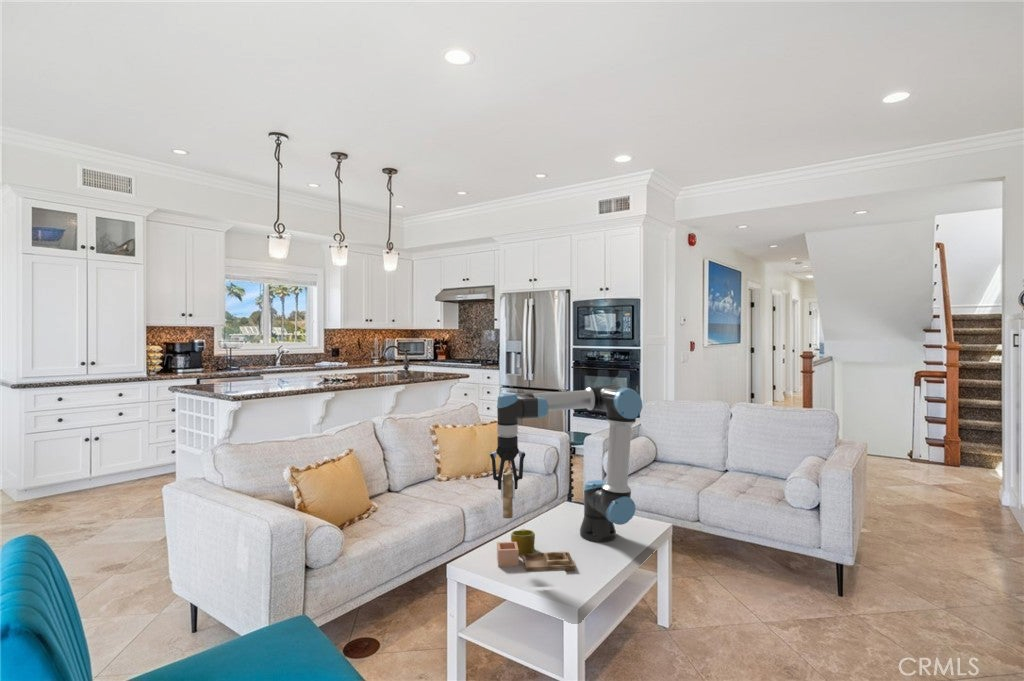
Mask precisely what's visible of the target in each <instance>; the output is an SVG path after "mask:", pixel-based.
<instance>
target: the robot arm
mask: <svg viewBox="0 0 1024 681" xmlns="http://www.w3.org/2000/svg"><path fill="white" fill-rule="evenodd" d="M496 401H497V405H496V408H497V412H496V413H497V414H496V415H497V433H496V434H497V435H498V436H497V448H496V450H495V451H491V452H490V453H489V456H490V459H491V467H492V479H493V480H494V481H497V489H498V490H499V491H500V499H501V500H503V474H504V466H505V464H506V461H508V462H510V463H511V464H510V465H511V469H512V474H513V481H512V493H513V500H515V499H516V498H515V497H516V495H515V494H516V493H515V492H516V491H515V490H518V488H519V486H518V484H519V481H520V480H522V479H523V476H524V459H525V458H526V453H525V451H522V450H520V449H519V445H518V444H519V442H518V441H519V440H518V438H519V437H518V436H517V435H518V434H519V433H518V432H519V431H518V430H519V427H518V425H519V424H518V423H519V422H518V420H521V419H523V420H524V419H539V418H545V417H547V415H548V413H549V412H552V411H565V410H567V411H568V410H580V409H582V410H583V409H586V410H588V411H599V412H600V411H601V412H605V413H606V418H605V419H606V421H607V422H608V423H609V429H608V430H609V432H608V445H607V446H608V447H607V448H608V449H607V462H606V475H605V476H606V479H604V480H603V479H602V480H601V479H599V480H597V479H595V480H590V481H586V482H585V483H584V486H583V487H584V488H583V492H584V493H583V515H584V516H583V518H582V522H581V523H580V524H581V525H580V528H579V534H580V538H581V537H582V538H583V539H585V540H587V541H591V542H598V543H599V542H600V543H602V542H609V541H613V540H615V539H616V536H617V533H616V532H617V531H616V527H615V525H620V526H621V525H626V524H627V523H629V521H630V520H632V519H633V517H634V516H635V513H636V503H635V501H634V500H633V499H632V498H631V496H632V495H631V494H632V489H631V487H630V486H629V485H628V483H629V482H628V481H629V470H630V456H631V455H630V453H631V437H632V435H631V434H632V426H633V425H635V423H636V422H637V419H636V418H637V417H638V416H639V414H641V412H642V409H643V400H642V397H641V395H640V394H639V393H638V391H636V390H635V389H632V388H629V387H625V386H619V385H618V386H617V385H614V384H613V385H612V384H610V385H609V384H608V385H607V384H606V385H601V386H591V387H586V388H585V389H583V390H569V391H568V390H566V391H565V390H564V391H555V392H554V391H553V392H537V393H536V392H535V393H522V394H521V393H520V392H518V393H501V394H499V395H497V400H496ZM497 455H498V457H499V458H500V464H499V468H498V474H497V466H496V465H497V464H496V462H497V461H496V458H497ZM517 455H518V457H519V464H518V473H517V468H516V464H515V463H516V462H515V459H516V457H517Z"/></svg>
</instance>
